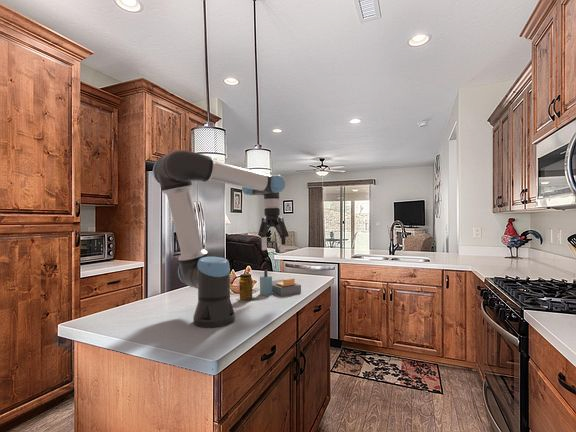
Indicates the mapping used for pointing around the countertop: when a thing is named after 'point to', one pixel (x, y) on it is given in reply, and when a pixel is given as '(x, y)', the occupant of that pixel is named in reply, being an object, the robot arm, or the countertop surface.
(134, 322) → the countertop surface
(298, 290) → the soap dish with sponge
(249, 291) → the condiment
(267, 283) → the light blue bottle
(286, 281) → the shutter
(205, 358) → the countertop surface
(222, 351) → the countertop surface
